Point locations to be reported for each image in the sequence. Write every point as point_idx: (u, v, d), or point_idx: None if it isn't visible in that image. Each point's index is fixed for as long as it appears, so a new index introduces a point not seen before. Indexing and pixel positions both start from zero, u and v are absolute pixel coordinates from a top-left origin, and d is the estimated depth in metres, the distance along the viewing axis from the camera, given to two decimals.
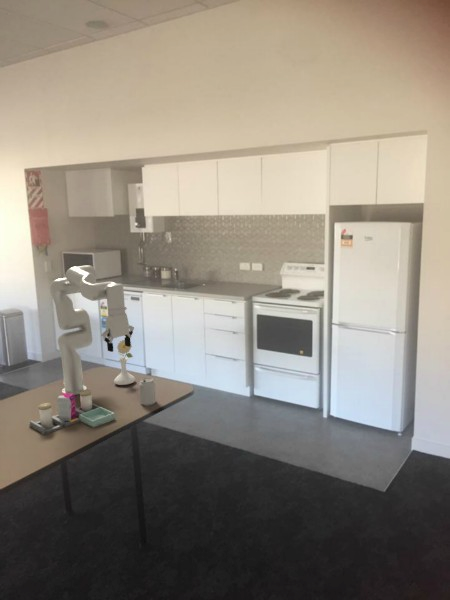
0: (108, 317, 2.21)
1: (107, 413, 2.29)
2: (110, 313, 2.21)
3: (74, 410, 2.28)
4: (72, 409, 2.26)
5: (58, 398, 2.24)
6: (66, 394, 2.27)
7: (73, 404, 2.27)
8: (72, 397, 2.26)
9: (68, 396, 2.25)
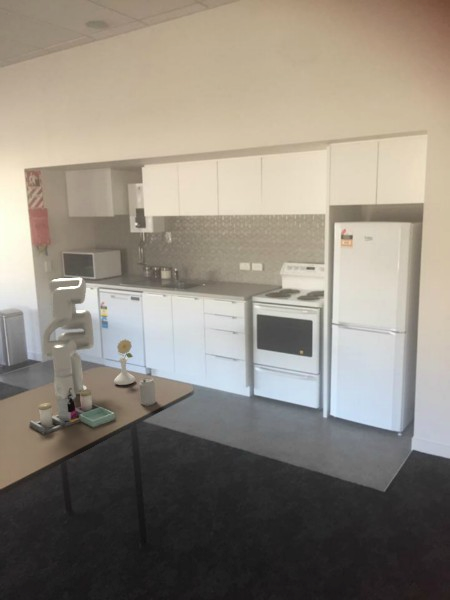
0: (68, 378, 2.21)
1: (107, 413, 2.29)
2: (68, 373, 2.22)
3: None
4: None
5: (58, 398, 2.24)
6: None
7: None
8: None
9: (68, 396, 2.25)
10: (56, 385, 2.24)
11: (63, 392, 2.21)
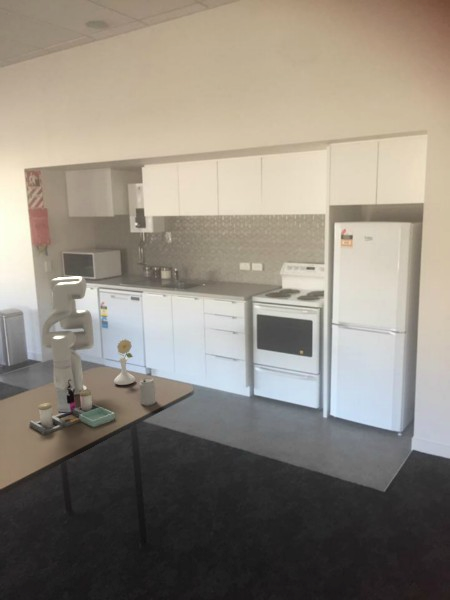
0: (67, 369, 2.20)
1: (107, 413, 2.29)
2: (67, 364, 2.21)
3: None
4: None
5: (57, 389, 2.23)
6: None
7: None
8: None
9: None
10: (56, 376, 2.24)
11: (62, 383, 2.21)
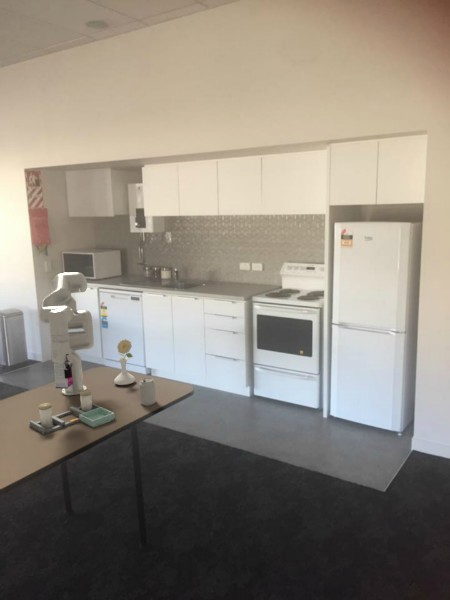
0: (64, 343, 2.18)
1: (107, 413, 2.29)
2: (65, 339, 2.19)
3: None
4: None
5: (54, 364, 2.21)
6: None
7: None
8: None
9: (65, 362, 2.22)
10: (53, 351, 2.21)
11: (60, 358, 2.18)
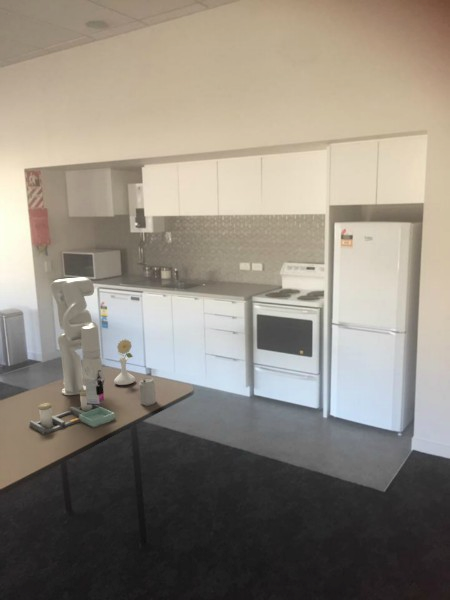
0: (97, 359, 2.17)
1: (107, 413, 2.29)
2: (97, 355, 2.18)
3: None
4: None
5: (86, 380, 2.20)
6: None
7: None
8: None
9: None
10: (85, 367, 2.20)
11: (92, 374, 2.17)
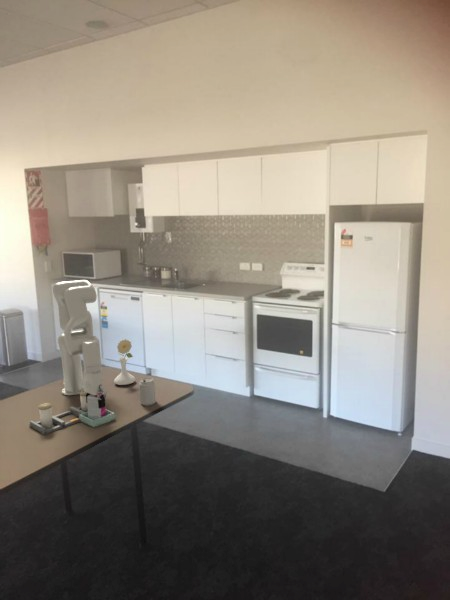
0: (98, 374, 2.18)
1: (107, 413, 2.29)
2: (98, 369, 2.19)
3: (104, 409, 2.26)
4: (102, 409, 2.24)
5: (88, 397, 2.21)
6: None
7: None
8: None
9: None
10: (86, 381, 2.22)
11: (93, 388, 2.19)
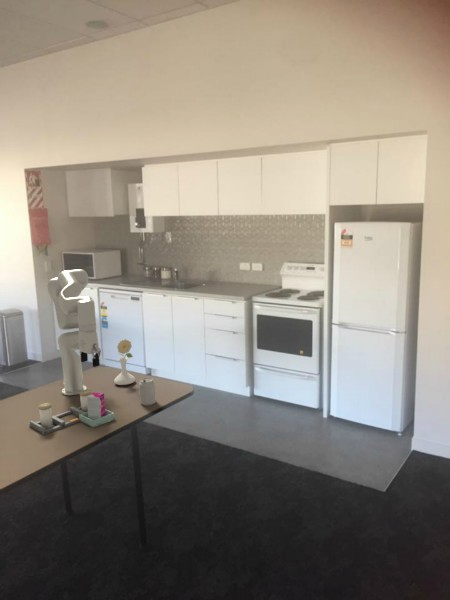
0: (92, 333, 2.21)
1: (107, 413, 2.29)
2: (93, 328, 2.22)
3: (104, 409, 2.26)
4: (102, 409, 2.24)
5: (88, 397, 2.21)
6: (96, 393, 2.25)
7: (103, 403, 2.25)
8: (102, 396, 2.24)
9: (98, 395, 2.22)
10: (81, 340, 2.24)
11: (87, 347, 2.21)
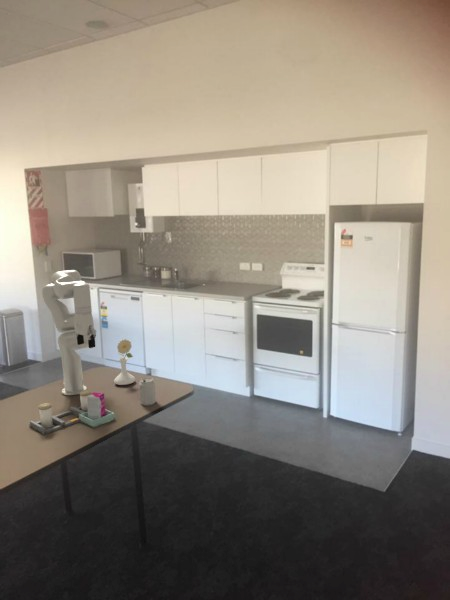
0: (88, 315, 2.30)
1: (107, 413, 2.29)
2: (88, 311, 2.31)
3: (104, 409, 2.26)
4: (102, 409, 2.24)
5: (88, 397, 2.21)
6: (96, 393, 2.25)
7: (103, 403, 2.25)
8: (102, 396, 2.24)
9: (98, 395, 2.22)
10: (77, 322, 2.33)
11: (83, 329, 2.30)
